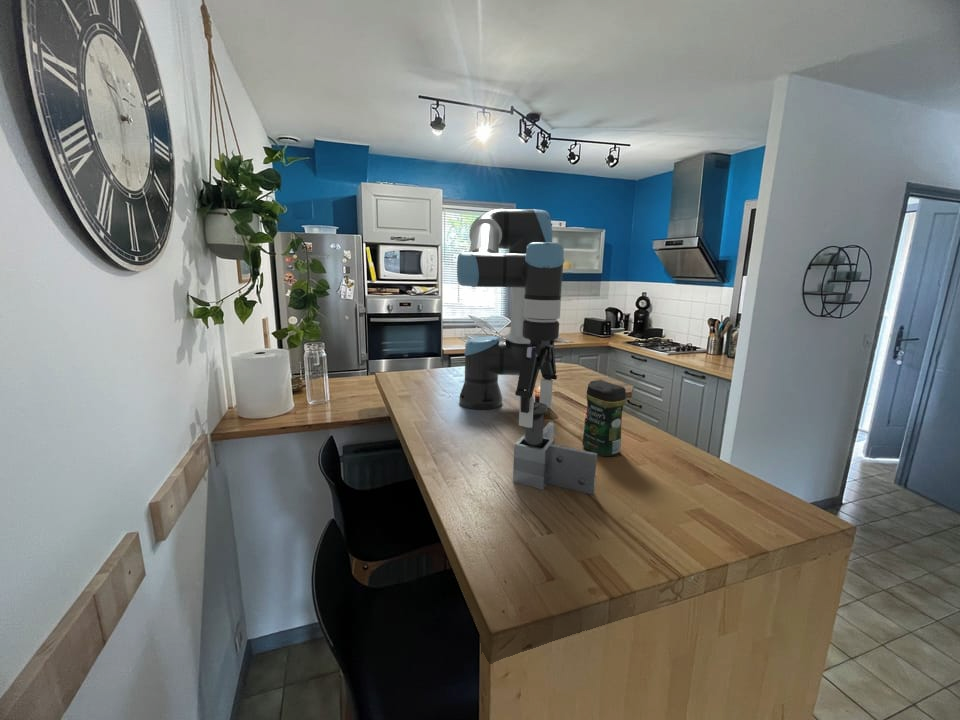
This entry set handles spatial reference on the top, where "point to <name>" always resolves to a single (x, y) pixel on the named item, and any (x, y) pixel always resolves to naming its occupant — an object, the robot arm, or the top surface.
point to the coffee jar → (604, 418)
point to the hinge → (554, 465)
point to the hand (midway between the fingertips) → (536, 415)
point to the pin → (536, 427)
